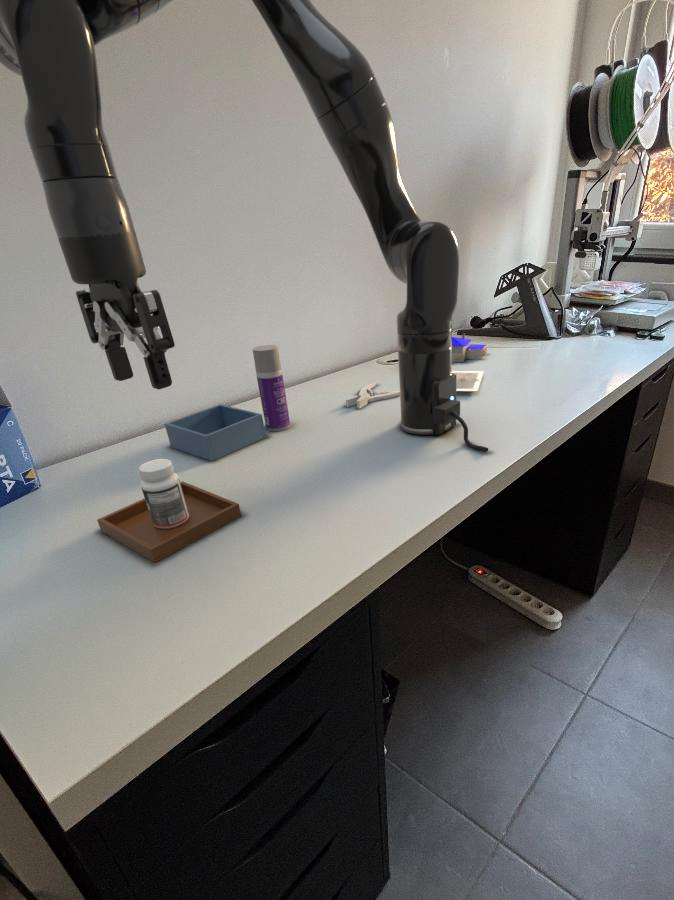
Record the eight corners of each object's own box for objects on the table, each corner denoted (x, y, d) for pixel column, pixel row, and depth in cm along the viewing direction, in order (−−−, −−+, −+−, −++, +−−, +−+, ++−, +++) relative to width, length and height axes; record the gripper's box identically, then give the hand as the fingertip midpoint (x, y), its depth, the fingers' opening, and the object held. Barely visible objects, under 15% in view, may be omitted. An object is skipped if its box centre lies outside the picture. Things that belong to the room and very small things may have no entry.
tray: (241, 515, 73) (238, 503, 72) (155, 562, 64) (150, 549, 63) (185, 492, 80) (182, 481, 79) (101, 531, 71) (96, 519, 70)
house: (476, 365, 132) (477, 342, 129) (422, 363, 137) (421, 341, 134) (486, 354, 141) (487, 332, 138) (435, 352, 146) (434, 331, 143)
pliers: (409, 382, 117) (371, 403, 106) (409, 389, 118) (372, 410, 107) (372, 378, 122) (332, 397, 111) (373, 385, 123) (333, 404, 112)
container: (285, 431, 100) (272, 350, 92) (262, 431, 101) (247, 351, 93) (293, 422, 104) (282, 344, 96) (271, 422, 105) (258, 344, 97)
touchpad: (440, 395, 113) (440, 385, 112) (450, 375, 125) (450, 366, 124) (477, 396, 111) (477, 386, 110) (483, 376, 123) (483, 366, 122)
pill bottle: (159, 513, 74) (141, 458, 70) (193, 510, 74) (178, 455, 70) (148, 531, 70) (129, 474, 65) (185, 528, 70) (168, 470, 66)
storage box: (266, 437, 98) (261, 414, 96) (211, 461, 90) (205, 436, 87) (225, 425, 105) (220, 403, 102) (170, 447, 96) (164, 423, 94)
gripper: (166, 225, 54) (204, 381, 62) (97, 231, 62) (139, 368, 70) (95, 231, 49) (147, 400, 57) (30, 237, 57) (84, 384, 65)
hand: (143, 383), depth 64 cm, fingers open, 8 cm apart
